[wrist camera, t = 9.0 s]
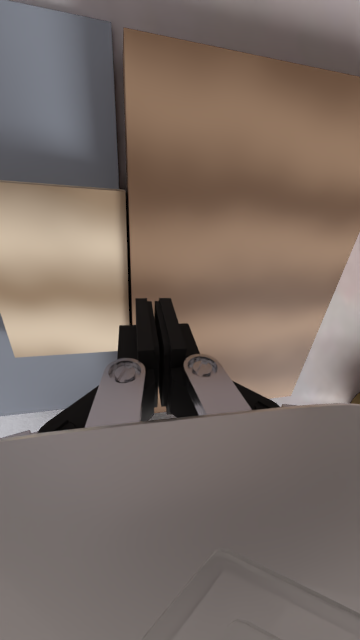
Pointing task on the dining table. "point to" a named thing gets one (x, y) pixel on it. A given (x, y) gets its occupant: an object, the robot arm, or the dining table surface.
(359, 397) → the cork
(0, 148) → the rubber mat
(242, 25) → the dining table surface
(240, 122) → the walnut board
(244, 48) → the dining table surface
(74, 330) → the birch tile
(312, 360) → the dining table surface
